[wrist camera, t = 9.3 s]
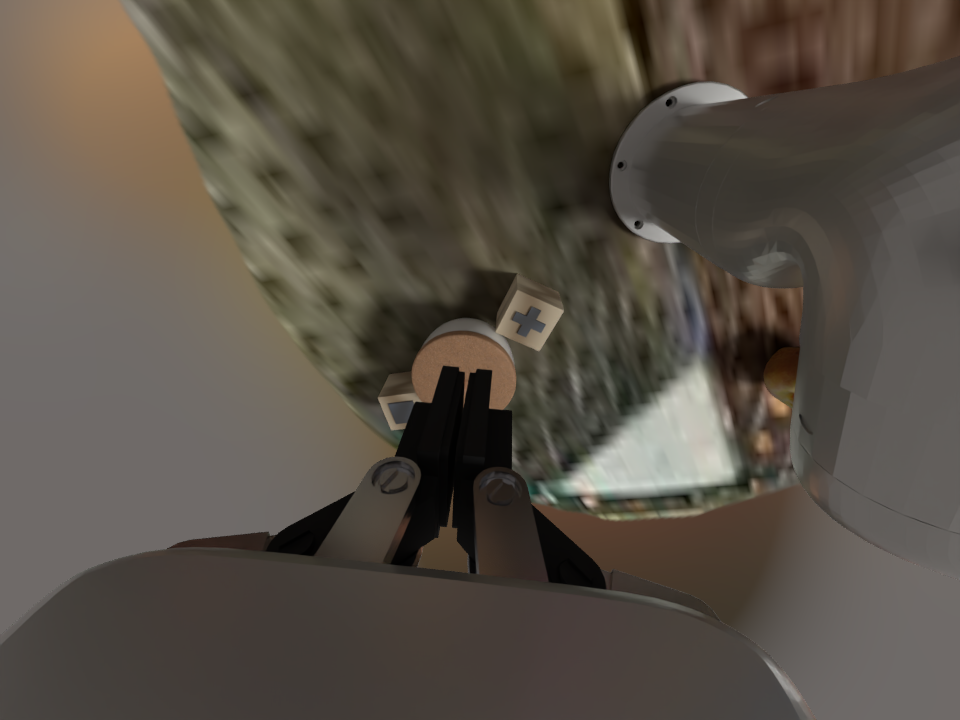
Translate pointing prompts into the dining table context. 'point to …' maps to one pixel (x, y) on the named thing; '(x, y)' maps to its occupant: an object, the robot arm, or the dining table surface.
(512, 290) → the marked cube 2
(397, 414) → the marked cube 1
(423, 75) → the dining table surface
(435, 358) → the lidded jar
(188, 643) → the robot arm
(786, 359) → the fruit
